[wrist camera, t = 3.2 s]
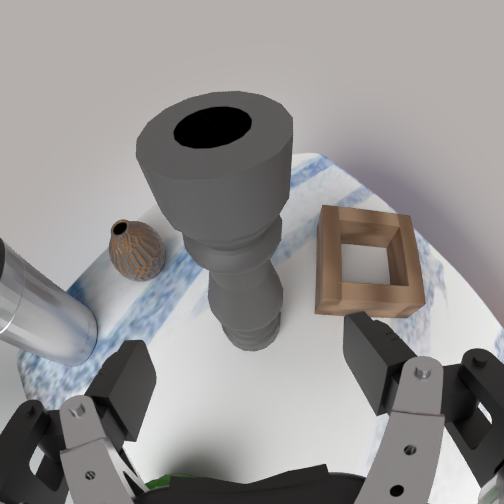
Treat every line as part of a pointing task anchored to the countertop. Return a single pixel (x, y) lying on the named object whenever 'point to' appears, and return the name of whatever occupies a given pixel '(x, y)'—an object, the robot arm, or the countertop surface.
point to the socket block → (368, 234)
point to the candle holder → (226, 199)
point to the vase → (136, 250)
